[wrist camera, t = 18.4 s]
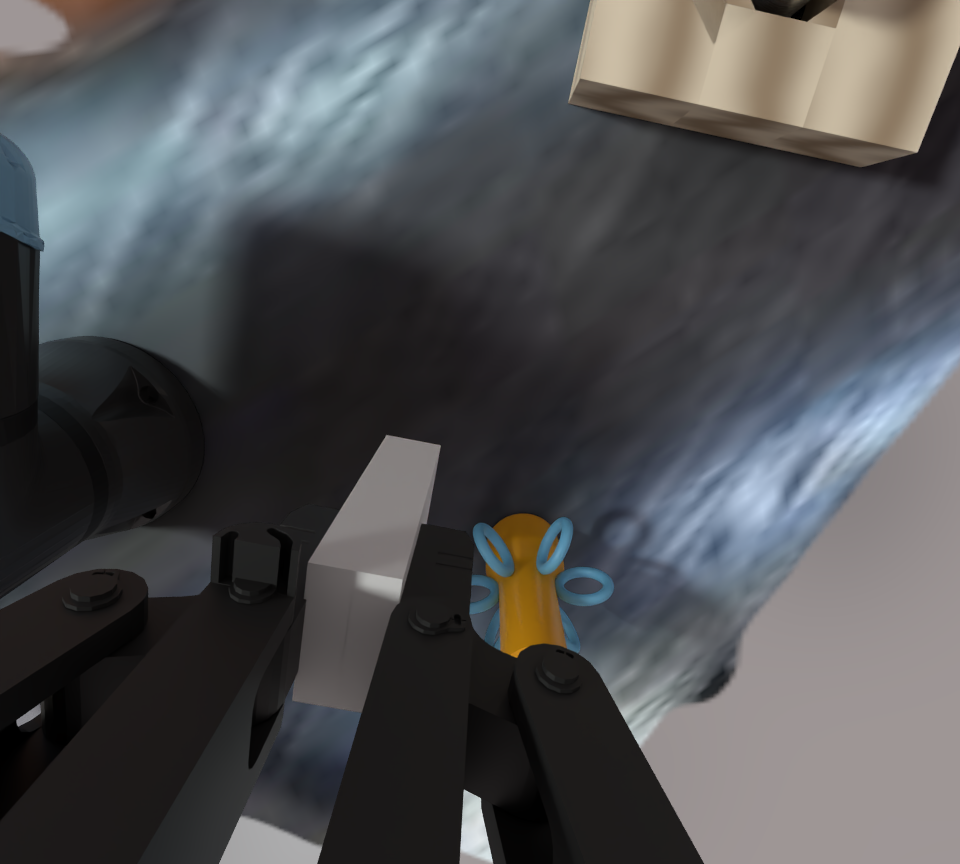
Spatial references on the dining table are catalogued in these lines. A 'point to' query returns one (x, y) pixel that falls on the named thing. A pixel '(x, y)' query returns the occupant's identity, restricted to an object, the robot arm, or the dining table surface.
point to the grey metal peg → (779, 6)
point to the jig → (774, 71)
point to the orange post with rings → (531, 582)
